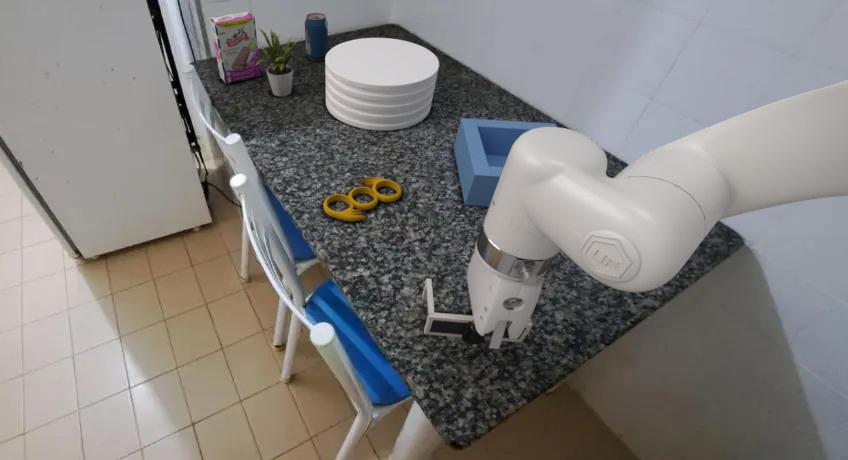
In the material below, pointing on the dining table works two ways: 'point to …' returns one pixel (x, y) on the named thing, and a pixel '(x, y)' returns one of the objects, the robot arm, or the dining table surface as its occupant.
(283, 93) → the house plant
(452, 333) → the white sunglasses
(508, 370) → the dining table surface
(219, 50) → the candy bar box
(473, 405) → the dining table surface
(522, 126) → the bin
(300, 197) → the dining table surface
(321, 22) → the soda can
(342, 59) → the plate stack
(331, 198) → the yellow winged triple ring
